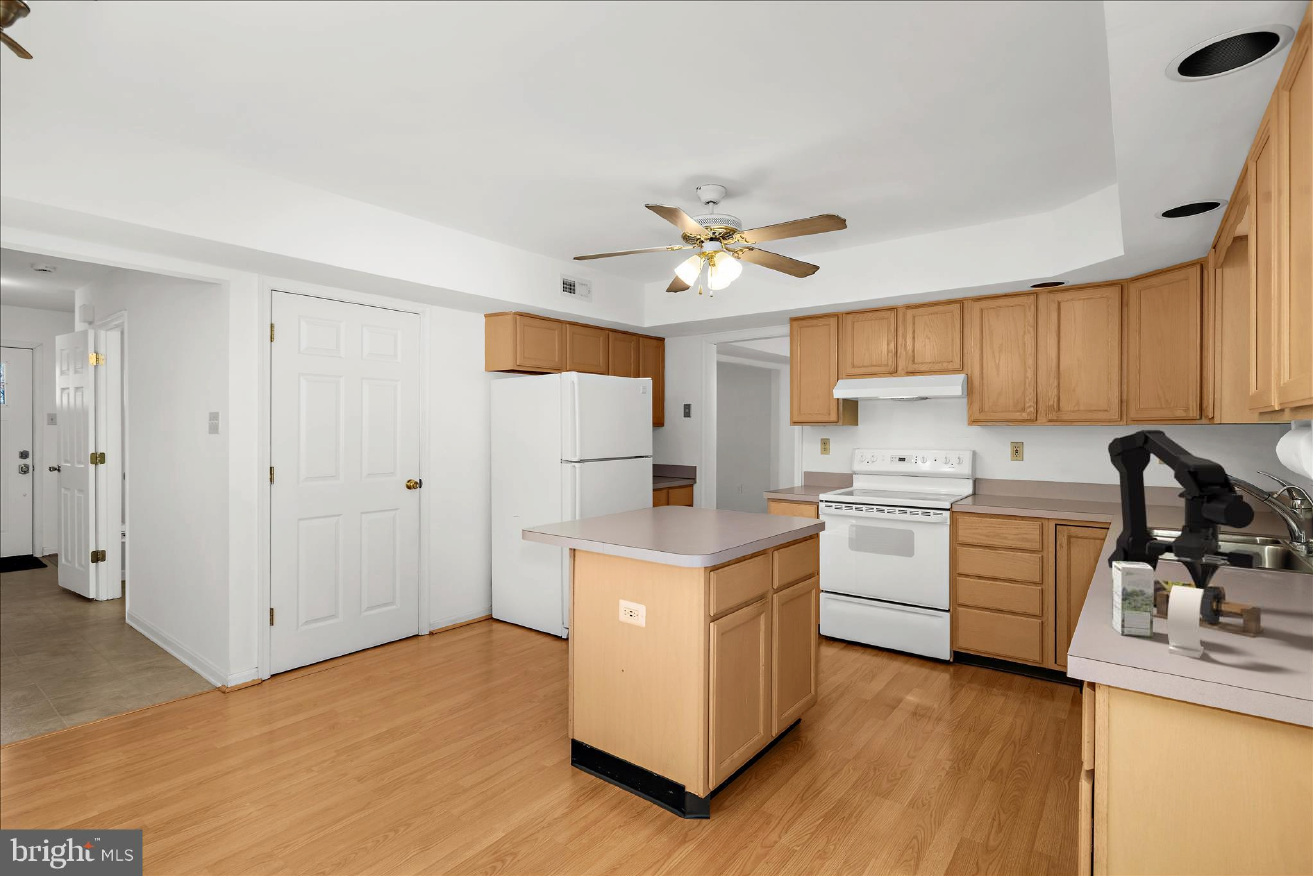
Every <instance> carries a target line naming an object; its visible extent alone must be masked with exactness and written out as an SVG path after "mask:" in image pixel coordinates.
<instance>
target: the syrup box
mask: <svg viewBox="0 0 1313 876" xmlns="http://www.w3.org/2000/svg"><path fill="white" fill-rule="evenodd" d="M1111 569H1112V572H1111V573H1112V576H1111V577H1112V579H1111V583H1112V584H1111V585H1112V587H1111V589H1112V590H1111V627H1112V628H1113V629H1114V630H1115V631H1116V632H1117V633H1118V634H1120V635H1122V636H1132V637H1145V638H1147V637H1148V638H1153V637H1154V617H1153V615H1154V605H1153V600H1154V580H1155V572H1154V569H1153V568H1152V567H1151V566H1149V565H1148V564H1146V563H1142V562H1120V561H1113V564H1112V568H1111Z"/></svg>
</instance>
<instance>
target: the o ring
mask: <svg viewBox="0 0 1313 876" xmlns="http://www.w3.org/2000/svg"><path fill="white" fill-rule="evenodd" d="M1214 599H1217V600H1218V599H1220V600H1224V596H1223V595H1222V590H1220V587H1214V586H1209V587H1206V588H1205V592H1204V594H1203V596H1202V600H1201V606H1200V614H1201V618H1202V619H1204V621H1205V622H1210V623H1215V622H1218V621H1221V620H1220V617H1222V616H1223V613H1222V612H1217V611H1214V610H1212V600H1214Z"/></svg>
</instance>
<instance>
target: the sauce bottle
mask: <svg viewBox="0 0 1313 876" xmlns="http://www.w3.org/2000/svg"><path fill="white" fill-rule="evenodd" d="M1173 585H1175V586H1183V587H1190V588H1196V586H1195V584H1194V582H1188V581H1178V580H1176V581H1175V580H1166V579H1165V580H1164V579H1154V600H1153V607H1154V606H1156V607H1157V592H1160V591H1165V590H1167V591H1171V589H1172V587H1173ZM1209 586H1214V587H1220V590H1222V595H1223V596H1224V600H1225V601H1227V600H1226V591H1225V588H1224V586H1223V585H1215V584H1210V583H1209V585H1208V587H1209Z"/></svg>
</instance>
